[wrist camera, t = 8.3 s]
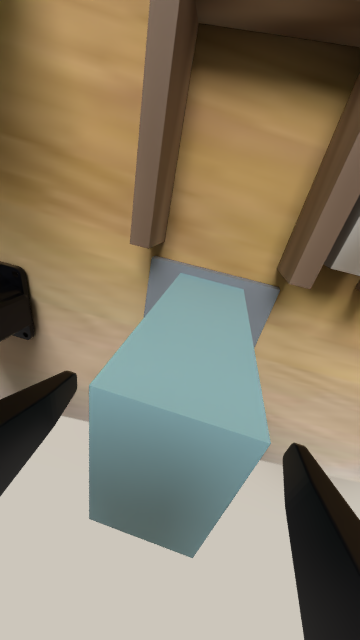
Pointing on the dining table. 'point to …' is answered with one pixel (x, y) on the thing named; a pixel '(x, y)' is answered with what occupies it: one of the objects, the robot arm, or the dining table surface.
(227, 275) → the slate mat
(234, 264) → the dining table surface
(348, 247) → the gray notched block
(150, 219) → the walnut rack
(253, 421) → the light blue rectangular prism
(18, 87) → the dining table surface
